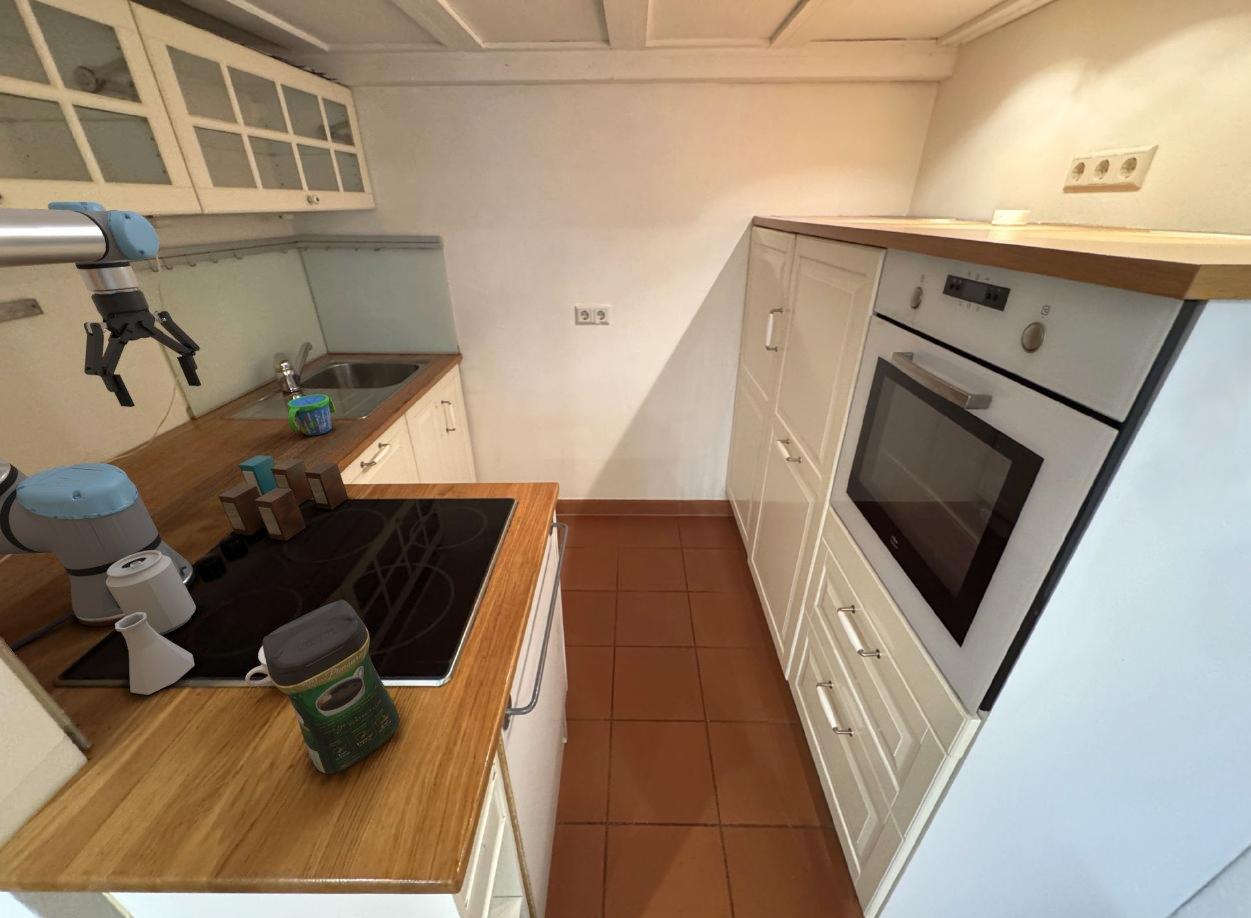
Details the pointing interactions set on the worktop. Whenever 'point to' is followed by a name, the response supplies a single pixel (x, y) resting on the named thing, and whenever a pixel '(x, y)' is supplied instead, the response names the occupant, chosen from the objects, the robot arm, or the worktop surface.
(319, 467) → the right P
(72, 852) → the worktop surface
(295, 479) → the brown rectangular box
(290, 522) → the brown wooden block
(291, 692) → the coffee jar
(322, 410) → the snack cup
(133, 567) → the can
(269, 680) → the teacup
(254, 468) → the teal rectangular block
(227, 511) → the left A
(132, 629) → the flask
